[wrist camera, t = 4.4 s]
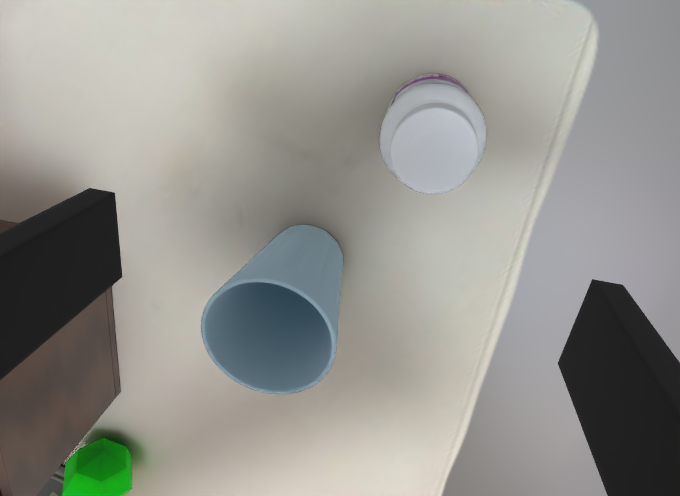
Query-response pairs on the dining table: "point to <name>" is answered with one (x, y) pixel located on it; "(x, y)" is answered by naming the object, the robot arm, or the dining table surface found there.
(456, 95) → the pill bottle
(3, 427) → the bin
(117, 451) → the green faceted ball
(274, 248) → the cup
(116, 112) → the dining table surface
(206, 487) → the dining table surface
